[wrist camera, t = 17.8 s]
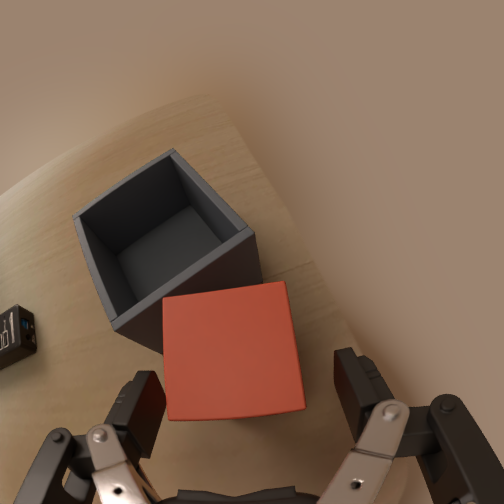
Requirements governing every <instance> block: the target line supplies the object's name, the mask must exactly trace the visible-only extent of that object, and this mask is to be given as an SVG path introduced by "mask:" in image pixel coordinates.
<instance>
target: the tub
mask: <svg viewBox="0 0 504 504" xmlns="http://www.w3.org/2000/svg"><path fill="white" fill-rule="evenodd" d="M72 217H73V220H74V224H75V228H76V231H77V235H78V238H79V241H80V244H81V247H82V251H83V254H84V257H85V260H86V262H87V265H88V268H89V271H90V274H91V276H92V279H93V282H94V284H95V287H96V290H97V292H98V295H99V297H100V300H101V302H102V305H103V307H104V309H105V312H106V314H107V316H108V319H109V321H110V322H111V325H112V327H113V329H114V331H115V332H117V333H119V334H121V335H123V336H125V337H126V338H128V339H131V340H133V341H135V342H137V343H139V344H141V345H143V346H145V347H147V348H149V349H151V350H154V351H156V352H158V353H160V354H162V353H163V298H165V297H173V296H181V295H188V294H196V293H204V292H211V291H218V290H225V289H232V288H239V287H246V286H253V285H259V284H260V283H262V282H263V279H262V274H261V268H260V262H259V256H258V250H257V244H256V238H255V232H254V231H253V230H252V229H251V228H250V227H248V225H247V224H246V223H245V222H244V221H243V220H242V219H241V218H240V217H239V216H238V215H237V214H236V213H235V211H234V210H233V209H232V208H231V207H230V206H229V205H228V204H227V203H226V202H225V201H224V200H223V199H222V198H221V197H220V196H219V195H218V194H217V193H216V192H215V191H214V190H213V189H212V187H211V186H210V185H209V184H208V183H207V182H206V181H205V180H204V179H203V178H202V177H201V176H200V175H199V174H198V173H197V172H196V171H195V170H194V169H193V168H192V167H191V166H190V165H189V164H188V163H187V162H186V161H185V160H184V159H183V158H182V157H181V156H180V155H179V154H178V152H176V150H175V149H174V148H172V149H170V150H169V151H167V152H165V153H164V154H162V155H160V156H158V157H157V158H155V159H154V160H152V161H150V162H149V163H147V164H145V165H144V166H142V167H141V168H139V169H138V170H136V171H134V172H133V173H131V174H130V175H128V176H127V177H125V178H124V179H122V180H121V181H119V182H118V183H116V184H115V185H113V186H112V187H111V188H109V189H108V190H106V191H105V192H103V193H102V194H101V195H99V196H98V197H97V198H95V199H94V200H92V201H91V202H90V203H88V204H87V205H86V206H84V207H83V208H82V209H80V210H79V211H78V212H77V213H75V214H74V215H73V216H72Z"/></svg>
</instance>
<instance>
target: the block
mask: <svg viewBox="0 0 504 504" xmlns="http://www.w3.org/2000/svg"><path fill="white" fill-rule="evenodd" d="M163 353H164V374H165V390H166V403H167V414H168V420H169V421H210V420H228V419H240V418H251V417H260V416H268V415H276V414H283V413H289V412H295V411H301V410H305V409H306V407H307V406H306V399H305V393H304V386H303V380H302V374H301V368H300V362H299V355H298V350H297V344H296V338H295V332H294V326H293V320H292V315H291V309H290V304H289V298H288V293H287V287H286V283H285V281H279V282H272V283H266V284H259V285H253V286H246V287H239V288H232V289H225V290H218V291H211V292H204V293H196V294H188V295H181V296H173V297H165V298H163Z"/></svg>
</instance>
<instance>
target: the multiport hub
mask: <svg viewBox="0 0 504 504" xmlns="http://www.w3.org/2000/svg"><path fill="white" fill-rule="evenodd" d="M36 349H37V347H36V339H35V330H34V320H33V313H32V312H30V311H28V310H26V309H25V308H23V307H21V306H19V305H18V304H16V305H14V306H13V307H11V308H10V309H8V310H7V311H5V312H4V313H2V314H1V315H0V369H2V368H4V367H6V366H9V365H11V364H13V363H15V362H17V361H19V360H21V359H23V358H25V357H27V356H29V355H31V354H33V353H35V352H36Z"/></svg>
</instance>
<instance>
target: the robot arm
mask: <svg viewBox="0 0 504 504" xmlns="http://www.w3.org/2000/svg"><path fill="white" fill-rule="evenodd" d="M334 384H335V388H336V391H337V394H338V397H339V399H340V402H341V405H342V408H343V410H344V413H345V416H346V419H347V421H348V424H349V427H350V430H351V433H352V436H353V438H354V441H355V443H357V444H356V446H355V447H354V449H351V450H350V451H349V452H348V454H347V456H346V457H345V459H344V461H343V463H342V464H341V466H340V468H339V469H338V471H337V473H336V474H335V476H334V477H333V479H332V481H331V482H330V484H329V485H328V487H327V488H326V490H325V491H324V493H323V494H322V496H321V497H319V496H316V495H312V494H308V493H300V492H296V491H295V486H290V487H282V488H273V489H264V490H261V491H257V492H254V493H250V494H246V495H242V496H237V497H231V496H226V495H221V494H216V493H212V492H207V491H194V490H179V489H178V494H177V496H175V497H171V498H167V499H164V500H162V499H161V498H160V497H159V495H158V494H157V492H156V491H155V489H154V488H153V486H152V484H151V483H150V481H149V479H148V477H147V476H146V474H145V472H144V470H143V468H142V467H141V465H140V464H139V460H140V458H148V459H150V457H151V453H152V450H153V447H154V443H155V440H156V437H157V434H158V431H159V427H160V424H161V421H162V418H163V415H164V412H165V409H166V404H167V403H166V395H165V393H164V390H163V388H162V386H161V384H160V381H159V379H158V377H157V374H156V373H155V371H138V372H137V373H136V375H135V377H134V379H133V381H129V382H128V383H127V384H126V385H125V386H123V387H122V389H121V391H120V393H119V395H118V397H117V398H116V400H115V403H114V404H113V406H112V408H111V410H110V412H109V414H108V416H107V418H106V420H105V422H104V424H98V425H95V426H93V427H92V428H91V429H90V430H89V431H88V432H87V434H86V435H77V436H72V434H71V433H70V432H69V430H67V429H66V428H56V429H54V430H52V431H51V432H50V433H49V434H48V435H47V437H46V439H45V441H44V442H43V444H42V446H41V448H40V450H39V452H38V454H37V456H36V457H35V459H34V461H33V463H32V465H31V467H30V469H29V471H28V473H27V475H26V477H25V479H24V481H23V484H22V486H21V488H20V490H19V492H18V494H17V496H16V499H15V501H14V503H13V504H92V502H93V498H94V495H95V492H96V489H97V491H98V494H99V496H100V499H101V501H102V504H373V502H374V500H375V498H376V496H377V494H378V492H379V490H380V488H381V486H382V484H383V482H384V480H385V478H386V475H387V473H388V471H389V469H390V466H391V464H392V461H393V459H394V458H396V457H408V456H416V458H417V461H418V463H419V466H420V469H421V471H422V473H423V476H424V479H425V481H426V484H427V487H428V489H429V492H430V495H431V498H432V501H433V503H434V504H504V469H503V467H502V465H501V463H500V461H499V460H498V458H497V456H496V454H495V453H494V451H493V449H492V448H491V446H490V444H489V443H488V441H487V439H486V438H485V436H484V435H483V433H482V431H481V430H480V428H479V426H478V425H477V423H476V422H475V420H474V419H473V417H472V416H471V414H470V413H469V411H468V410H467V408H466V407H465V405H464V404H463V402H462V401H461V400H460V398H458V397H457V396H455V395H451V394H443V395H439V396H438V397H436V398H435V399H434V400H433V401H432V403H431V405H430V406H423V407H408V406H407V405H406V404H405V403H404V402H402V401H400V400H396V399H395V398H394V396H393V394H392V393H391V391H390V389H389V388H388V386H387V384H386V382H385V381H384V379H383V377H381V374H380V373H379V371H378V370H377V367H376V366H375V364H374V362H373V361H372V360H370V359H369V358H367V357H366V356H364V355H363V356H359V357H357V356H356V354H355V353H354V351H353V349H352V348H351V347H348V348H344V349H339V350H335V351H334ZM67 467H68V468H69V469H70V470H71V471H70V474H69V476H68V478H67V481H66V483H65V486H64V488H63V486H62V479H63V476H64V474H65V472H66V469H67Z"/></svg>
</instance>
